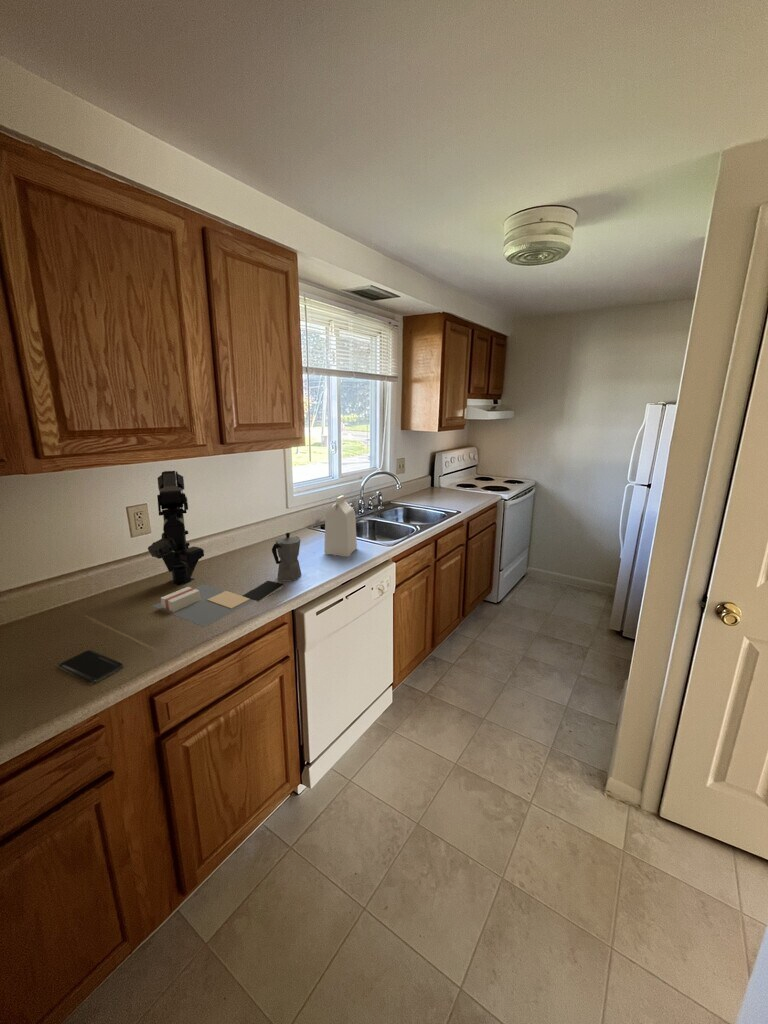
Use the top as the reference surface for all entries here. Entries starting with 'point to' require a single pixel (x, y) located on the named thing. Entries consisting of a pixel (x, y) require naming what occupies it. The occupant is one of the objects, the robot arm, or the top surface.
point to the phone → (90, 666)
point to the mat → (210, 606)
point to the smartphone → (263, 590)
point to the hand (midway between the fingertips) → (180, 574)
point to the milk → (340, 529)
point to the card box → (180, 599)
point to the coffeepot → (287, 557)
